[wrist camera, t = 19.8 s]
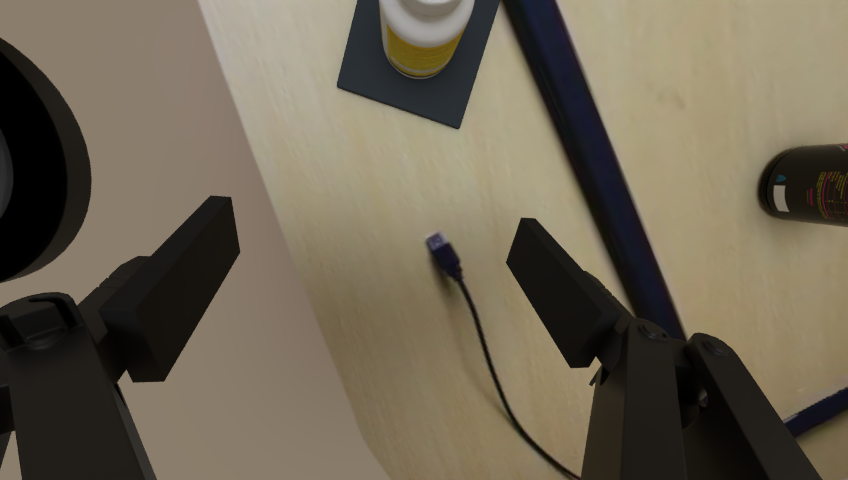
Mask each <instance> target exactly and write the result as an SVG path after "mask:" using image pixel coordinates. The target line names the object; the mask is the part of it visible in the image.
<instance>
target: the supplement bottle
mask: <svg viewBox="0 0 848 480" xmlns="http://www.w3.org/2000/svg"><path fill="white" fill-rule="evenodd" d="M474 1H475V0H379V8H380V19H381V30H382V41H383V47H384V51H385V54H386V56H387V58H388V60H389V62H390V63H391V64H392V66H393V67H394V68H395V69H396V70H397V71H398V72H400V73H401V74H403V75H405V76H407V77H410V78H414V79H426V78H429V77H432V76H434V75H436V74H438V73H439V72H440V71H442V70H443V69H444V68H445V66H446V65H447V64H448V62H449V61H450V59H451V57H452V55H453V53H454V51H455V49H456V47H457V45H458V43H459V40H460V38H461V36H462V34H463V32H464V29H465V28H466V25H467V23H468V21H469V18H470V16H471V13H472V10H473V6H474Z"/></svg>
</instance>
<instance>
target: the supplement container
mask: <svg viewBox="0 0 848 480" xmlns="http://www.w3.org/2000/svg"><path fill="white" fill-rule="evenodd" d="M761 198H762V201H763V204H764V206H765V207H766V209H767V210H768V211H769V212H770V213H771V214H773V215H774V216H776V217H778V218H780V219H783V220H790V221H798V222H807V223H815V224H824V225H832V226H841V227H848V143H841V144H827V145H812V146H801V147H797V148H795V149H792V150H790V151H787V152H786V153H784V154H782V155H781V156H779V157H778V158H777V159H776V160H775V161H774V162H773V163H772V164H771V165H770V166H769V168H768V169H767V171H766V173H765V175H764V177H763V180H762V183H761Z"/></svg>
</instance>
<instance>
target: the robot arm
mask: <svg viewBox="0 0 848 480" xmlns="http://www.w3.org/2000/svg"><path fill="white" fill-rule="evenodd" d="M13 188H14V164H13V159H12V154H11V151H10V147H9V145H8V142H7V140H6V137H5V135H4V133H3V131H2V129H1V127H0V219H1V218H2V217H3V215H4V213H5V212H6V210H7V208H8V206H9V203H10V201H11V197H12V194H13ZM239 253H240V248H239V242H238V236H237V230H236V224H235V218H234V212H233V206H232V200H231V197H222V196H210V197H209V198H208V199H207V200H206V201H205V202H204V203H203V204H202V205H201V206H200V207H199V208H198V209H197V210H196V211H195V212H194V213H193V214H192V215H191V216H190V217H189V218H188V219H187V220H186V221H185V222H184V223H183V224H182V225H181V226H180V227H179V228H178V229H177V230H176V231H175V232H174V233H173V234H172V235H171V236H170V237H169V238H168V239H167V240H166V241H165V242H164V243H163V244H162V246H160V247H159V248H158V249H157V250H156V251H155V253H153V254H152V256H137V257H135V258H134V259H131V260H130V261H128V262H126V263H124V264H122V265H120V266H119V267H118V268H117V269H116V270H115V271H114V272H113V273H112V274H111V275H110V276H109V278H106V279H105V280H104V281H103V282H102V283H101V284H100V286H99V287H97V288H96V289H94V290H93V291H92V292H91V293H90V294H89V295H88V296H87V297H86V298H85V299H84V300H83V301H81V302H80V303H79V304H78V305H77V306H76V304H75V302H74V300H73V298H71V297H70V296H69V295H68V294H64V293H60V292H50V293H41V294H36V295H31V296H27V297H24V298H21V299H18V300H16V301H13V302H10V303H9V304H7V305H5V306H3V307H1V308H0V468H1V465H2V461H3V458H4V454H5V451H6V448H7V445H8V442H9V438H10V435H11V432H12V431H15V432H16V440H17V446H18V454H19V461H20V468H21V475H22V480H157V479H156V476H155V474H154V472H153V469H152V467H151V464H150V461H149V459H148V456H147V454H146V451H145V449H144V447H143V444H142V442H141V439H140V436H139V434H138V432H137V429H136V427H135V424H134V422H133V419H132V417H131V414H130V412H129V409H128V407H127V404H126V402H125V399H124V397H123V394H122V392H121V389H120V387H119V385H118V383H117V382H118V380H119V379H120V377H121V376H122V374H123V373H124V372H125V370H126V369H127V371H128V373H129V375H130V377H131V379H132V381H133V382H160V381H161V382H162V381H163V382H164V381H165V379H166V377H167V376H168V374H169V372H170V370H171V369H172V367H173V365H174V364H175V362H176V360H177V358H178V357H179V355H180V353H181V351H182V350H183V348H184V347H185V345H186V343H187V342H188V340H189V338H190V337H191V335H192V333H193V331H194V330H195V328H196V326H197V325H198V323H199V321H200V319H201V318H202V316H203V315H204V313H205V311H206V309H207V308H208V306H209V304H210V302H211V301H212V299H213V298H214V296H215V294H216V292H217V291H218V289H219V287H220V286H221V284H222V282H223V281H224V279H225V277H226V276H227V274H228V272H229V270H230V269H231V267H232V265H233V264H234V262H235V260H236V259H237V257H238V255H239ZM506 264H507V265H508V267H509V269H510V270H511V272H512V274H513V275H514V277H515V278H516V280H517V282H518V283H519V285H520V287H521V288H522V290H523V291H524V293H525V295H526V296H527V298H528V300H529V301H530V303H531V304H532V306H533V308H534V309H535V311H536V313H537V314H538V316H539V318H540V319H541V321H542V322H543V324H544V326H545V327H546V329H547V331H548V332H549V334H550V335H551V337H552V339H553V340H554V342H555V344H556V345H557V347H558V348H559V350H560V352H561V353H562V355H563V357H564V358H565V360H566V361H567V363H568V365H569V366H570V368H586V367H589V366H590V364H591V363H592V361H593V360H594V358H595V356H596V357H597V358H598V360H599V361H600V362H601V364H602V365H601V366H600V368H599V369H598V371H597V372H596V374H595V375H594V377H593V378H592V380H591V382H590V383H589V385H591V386H592V385H593V384H594V383H595V382H596V384H595V390H594V397H593V403H592V409H591V416H590V422H589V428H588V435H587V441H586V447H585V454H584V460H583V466H582V473H581V479H580V480H822V479H821V477H820V476H819V474H818V473H817V471H816V470H815V468H814V467H813V465H812V464H811V462H810V461H809V459H808V458H807V457H806V455H805V454H804V452H803V451H802V449H801V448H800V446H799V445H798V443H797V442H796V440H795V439H794V437H793V436H792V435H791V433H790V432H789V430H788V429H787V427H786V426H785V424H784V423H783V421H782V420H781V418H780V417H779V415H778V414H777V412H776V411H775V410H774V408H773V407H772V405H771V404H770V402H769V401H768V399H767V398H766V396H765V395H764V393H763V392H762V390H761V389H760V388H759V386H758V385H757V383H756V382H755V380H754V379H753V377H752V376H751V374H750V373H749V371H748V370H747V368H746V367H745V365H744V364H743V363H742V361H741V360H740V358H739V357H738V355H737V354H736V353H735V352H734V351H733V349H732V348H730V347H729V346H728V345H727V344H725V342H723V341H721V340H719V339H718V338H716V337H713V336H710V335H708V334H704V333H694V334H693V335H692V337H691V338H690V339H689V340H688V341H687V342H685V341H681V340H677V339H673V338H670V336H669V335H668V334H667V333H666V332H665V331H664V330H663V329H662V328H660V327H659V326H658V325H656V324H654V323H652V322H650V321H647V320H644V319H640V318H634V317H633V316H632V315H631V314H630V313H629V311H628V310H627V309H626V308H625V307H624V306H623V305H622V304H621V303H620V302H619V301H618V300H617V299H616V298H615V297H614V296H612V294H611V293H610V292H609V290H608V289H605V286H604V285H603V284H602V283H601V282H600V281H599V280H598V279H597V278H596V277H594V276H593V275H591V274H590V273H588V272H587V271H583V270H582V269H581V268H580V266H579V265H578V264H577V263H576V262H575V261H574V260H573V259H572V258H571V257H570V256H569V255H568V253H567V252H566V251H565V250H564V249H563V248H562V247H561V246H560V245H559V244H558V243H557V242H556V240H555V239H554V238H553V237H552V236H551V235H550V234H549V233H548V232H547V231H546V230H545V229H544V228H543V226H542V225H541V224H540V223H539V222H538V221H537V220H536V219H534V218H521V220H520V223H519V226H518V229H517V232H516V235H515V237H514V240H513V243H512V246H511V249H510V252H509V255H508V258H507V261H506ZM706 395H707V396H708V404H707V407H706V406H705V404H704V402H703V400H702V399H703V398H704V397H705V396H706Z"/></svg>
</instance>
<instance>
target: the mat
mask: <svg viewBox="0 0 848 480" xmlns="http://www.w3.org/2000/svg"><path fill="white" fill-rule="evenodd" d="M499 2H500V0H475V1H474V6H473V10H472V13H471V16H470V18H469V21H468V23H467V25H466V28H465V29H464V32H463V34H462V36H461V38H460V40H459V43H458V45H457V47H456V49H455V51H454V53H453V55H452V57H451V59H450V61H449V62H448V64H447V65H446V66H445V68H444V69H443V70H442V71H440V72H439V73H438V74H436V75H434V76H432V77H429V78H426V79H414V78H410V77H407V76H405V75H403V74H401V73H400V72H398V71H397V70H396V69H395V68H394V67H393V66H392V64H391V63H390V62H389V60H388V58H387V56H386V54H385V51H384V47H383V41H382V30H381V19H380V8H379V0H358V1H357V5H356V9H355V13H354V17H353V21H352V25H351V29H350V33H349V37H348V41H347V45H346V49H345V53H344V57H343V61H342V65H341V69H340V73H339V78H338V82H337V87H338V88H340V89H343V90H346V91H349V92H352V93H355V94H358V95H361V96H364V97H367V98H369V99H372V100H375V101H378V102H381V103H384V104H387V105H390V106H393V107H396V108H398V109H401V110H404V111H407V112H410V113H413V114H416V115H419V116H422V117H425V118H427V119H430V120H433V121H436V122H439V123H442V124H445V125H448V126H451V127H454V128H456V129H459V128H460V125H461V122H462V119H463V116H464V113H465V109H466V106H467V103H468V100H469V97H470V94H471V90H472V87H473V84H474V81H475V78H476V75H477V71H478V68H479V65H480V62H481V59H482V56H483V52H484V49H485V46H486V43H487V40H488V37H489V33H490V30H491V27H492V24H493V21H494V18H495V14H496V11H497V8H498V5H499Z"/></svg>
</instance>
